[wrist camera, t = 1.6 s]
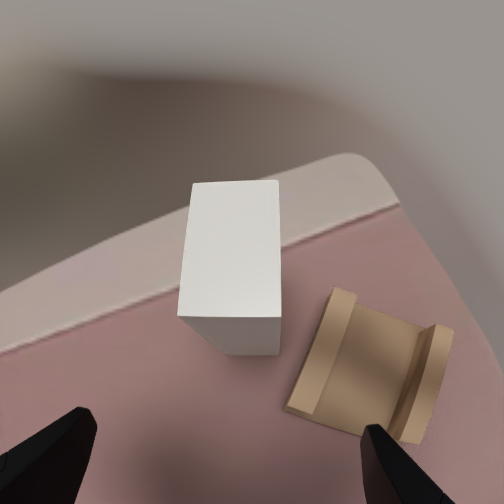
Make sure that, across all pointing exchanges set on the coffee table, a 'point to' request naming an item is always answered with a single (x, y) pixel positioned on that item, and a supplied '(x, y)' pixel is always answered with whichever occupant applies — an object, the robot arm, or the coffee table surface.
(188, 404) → the coffee table surface
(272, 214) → the white rectangular box
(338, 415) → the slot holder
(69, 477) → the robot arm
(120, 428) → the coffee table surface
